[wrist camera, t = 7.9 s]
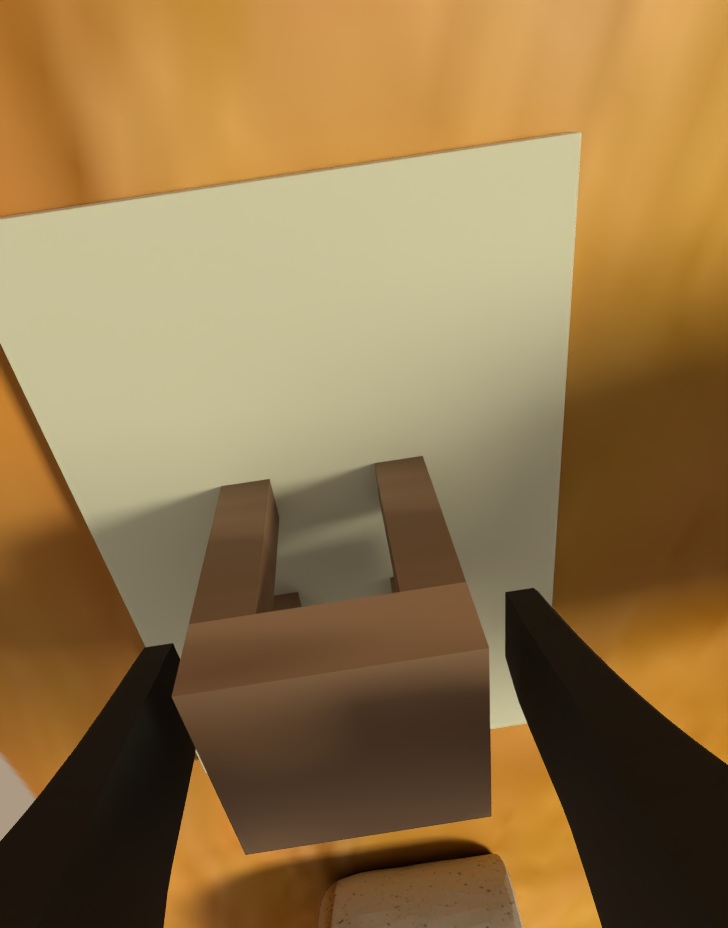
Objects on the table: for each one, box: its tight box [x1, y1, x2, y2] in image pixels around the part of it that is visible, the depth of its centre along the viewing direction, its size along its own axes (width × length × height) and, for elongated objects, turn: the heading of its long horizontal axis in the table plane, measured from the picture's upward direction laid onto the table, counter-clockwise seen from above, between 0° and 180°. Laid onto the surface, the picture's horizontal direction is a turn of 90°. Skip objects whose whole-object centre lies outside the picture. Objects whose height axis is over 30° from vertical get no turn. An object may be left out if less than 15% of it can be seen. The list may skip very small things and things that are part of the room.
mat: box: [0, 132, 582, 774], centre depth 16 cm, size 18×12×1 cm, turn 7°
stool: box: [172, 456, 491, 855], centre depth 13 cm, size 5×5×6 cm
